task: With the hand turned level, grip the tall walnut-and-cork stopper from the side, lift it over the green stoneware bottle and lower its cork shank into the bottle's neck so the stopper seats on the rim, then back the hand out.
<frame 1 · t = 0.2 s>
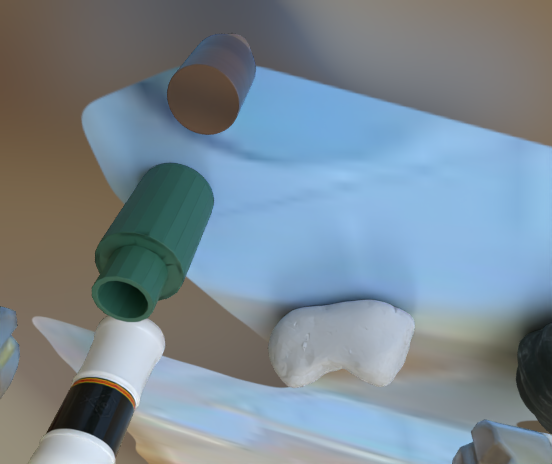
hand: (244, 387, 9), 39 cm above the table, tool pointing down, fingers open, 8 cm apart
bottle: (177, 195, 54), on the table
decorative stone: (342, 323, 63), on the table
stopper: (233, 52, 44), on the table
vodka: (134, 331, 69), on the table
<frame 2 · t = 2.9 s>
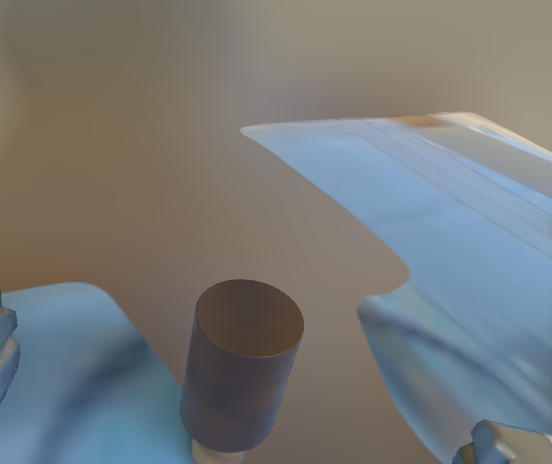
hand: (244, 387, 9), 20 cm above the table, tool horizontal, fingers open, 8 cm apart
stopper: (217, 449, 30), on the table
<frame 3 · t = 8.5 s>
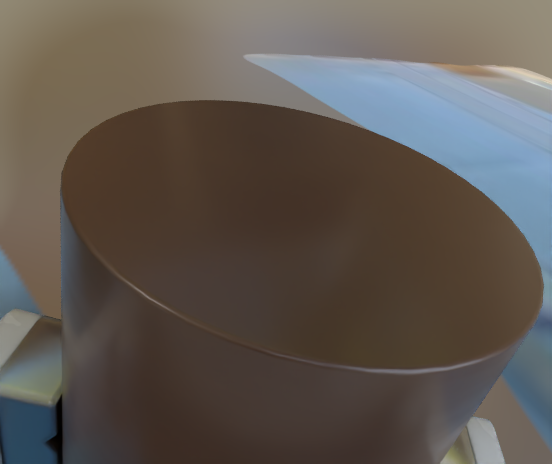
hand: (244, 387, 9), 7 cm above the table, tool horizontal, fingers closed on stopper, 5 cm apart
when the fingers open (19 cm above the table, at t = 18.3 s): stopper stays where it is, resting on bottle.
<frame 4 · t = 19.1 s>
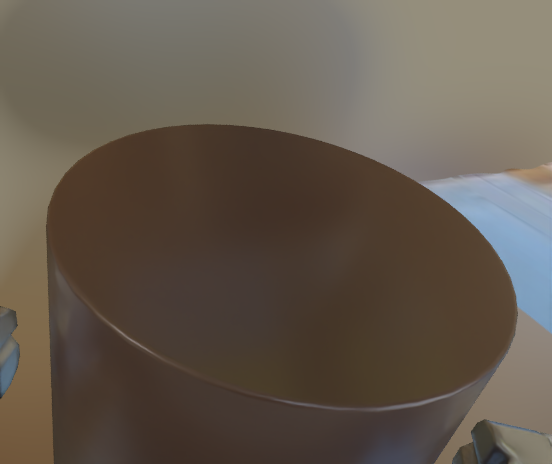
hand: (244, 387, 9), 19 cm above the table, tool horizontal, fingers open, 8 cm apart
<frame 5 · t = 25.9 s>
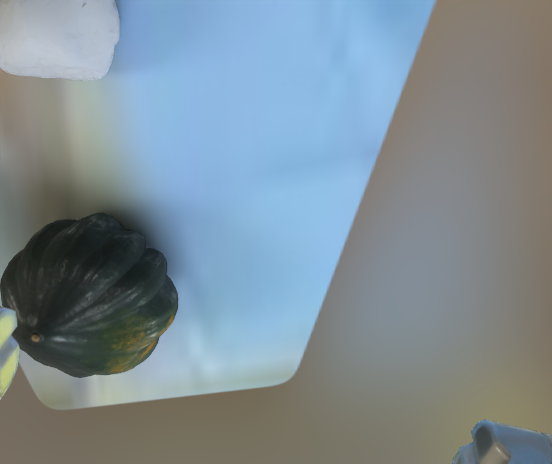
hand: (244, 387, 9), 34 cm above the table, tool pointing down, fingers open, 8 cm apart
squash: (115, 259, 51), on the table
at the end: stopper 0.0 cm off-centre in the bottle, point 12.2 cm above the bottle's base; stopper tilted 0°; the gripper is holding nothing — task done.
